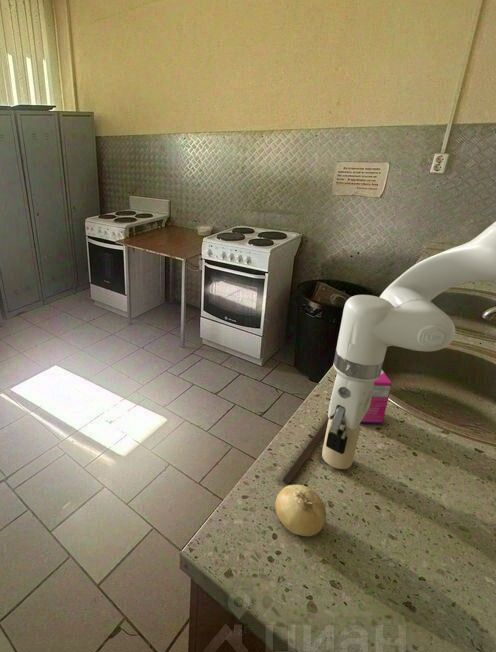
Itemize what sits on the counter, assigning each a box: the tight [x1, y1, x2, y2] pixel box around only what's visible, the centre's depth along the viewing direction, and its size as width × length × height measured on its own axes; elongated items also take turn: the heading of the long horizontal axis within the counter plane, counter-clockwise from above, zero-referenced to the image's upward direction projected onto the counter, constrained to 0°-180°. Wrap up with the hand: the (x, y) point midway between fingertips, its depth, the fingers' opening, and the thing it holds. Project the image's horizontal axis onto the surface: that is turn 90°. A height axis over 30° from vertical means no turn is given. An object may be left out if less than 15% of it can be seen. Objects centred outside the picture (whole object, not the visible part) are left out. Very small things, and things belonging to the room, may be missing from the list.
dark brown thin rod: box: [282, 416, 329, 486], centre depth 83 cm, size 1×24×1 cm, turn 136°
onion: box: [274, 484, 327, 537], centre depth 66 cm, size 8×8×7 cm
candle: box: [321, 418, 361, 470], centre depth 77 cm, size 6×6×10 cm
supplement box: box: [360, 369, 393, 425], centre depth 89 cm, size 6×6×12 cm
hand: (340, 439), depth 77 cm, fingers closed on candle, 5 cm apart
